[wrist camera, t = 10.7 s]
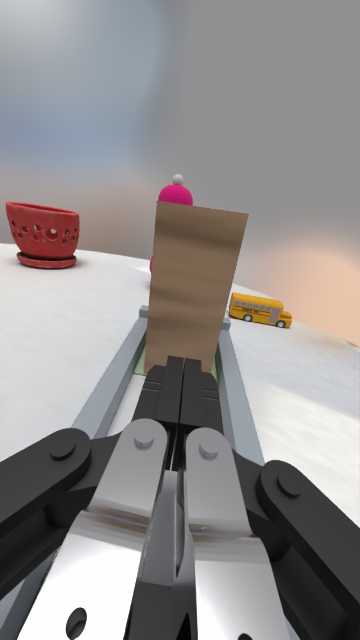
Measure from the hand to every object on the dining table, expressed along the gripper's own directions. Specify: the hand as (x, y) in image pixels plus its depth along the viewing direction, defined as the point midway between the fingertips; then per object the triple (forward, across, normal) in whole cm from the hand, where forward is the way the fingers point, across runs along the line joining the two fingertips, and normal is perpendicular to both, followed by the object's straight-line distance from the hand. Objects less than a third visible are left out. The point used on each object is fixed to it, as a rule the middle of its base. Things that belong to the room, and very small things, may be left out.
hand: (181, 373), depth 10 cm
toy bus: (+26, -12, +7) cm, 30 cm away
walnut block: (+12, 0, +7) cm, 14 cm away
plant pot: (+41, +32, +7) cm, 53 cm away
